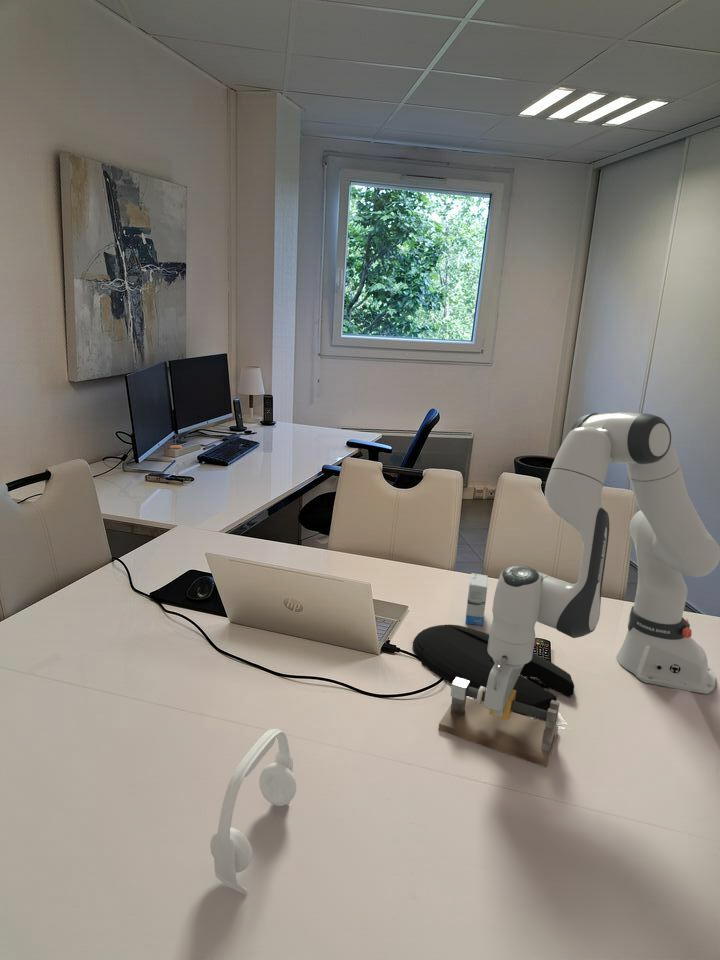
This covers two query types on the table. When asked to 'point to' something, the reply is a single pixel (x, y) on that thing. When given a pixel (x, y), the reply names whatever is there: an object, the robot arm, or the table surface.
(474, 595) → the ink box
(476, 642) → the black u-shaped plate
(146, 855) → the table surface
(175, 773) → the table surface
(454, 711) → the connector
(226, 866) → the headset
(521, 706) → the dark grey rod
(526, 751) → the slider rail assembly
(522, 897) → the table surface
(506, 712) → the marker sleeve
